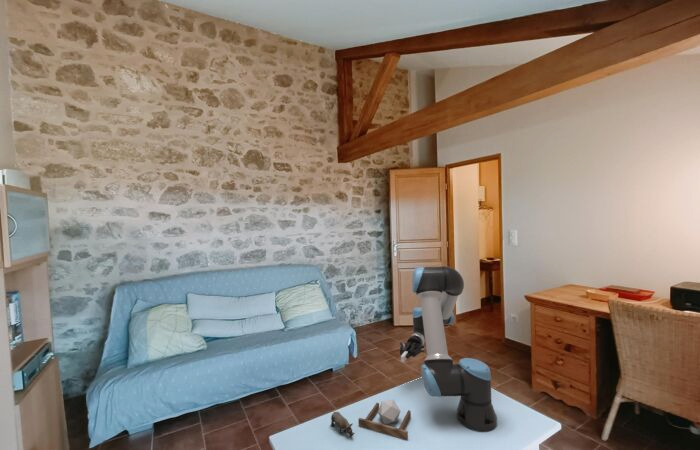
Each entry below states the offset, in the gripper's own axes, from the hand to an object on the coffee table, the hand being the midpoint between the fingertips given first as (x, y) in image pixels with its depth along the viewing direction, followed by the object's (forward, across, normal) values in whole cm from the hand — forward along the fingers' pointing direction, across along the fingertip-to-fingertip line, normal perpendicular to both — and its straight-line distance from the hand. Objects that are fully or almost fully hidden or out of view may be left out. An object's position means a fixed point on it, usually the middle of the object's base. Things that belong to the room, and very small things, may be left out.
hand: (402, 359), depth 148 cm
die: (+20, 0, -18) cm, 27 cm away
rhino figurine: (+34, +14, -18) cm, 41 cm away
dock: (+21, 0, -17) cm, 28 cm away
